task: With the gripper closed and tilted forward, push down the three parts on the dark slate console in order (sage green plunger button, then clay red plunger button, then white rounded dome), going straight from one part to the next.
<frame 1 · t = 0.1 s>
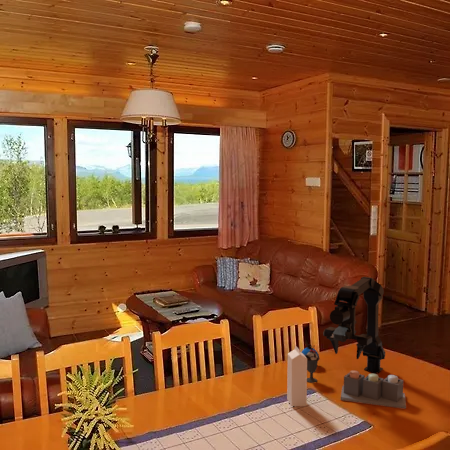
hand: (346, 356, 194), 15 cm above the table, tool pointing down, fingers open, 9 cm apart
milk: (296, 403, 186), on the table
white rounded dome: (392, 381, 187), point 8 cm above the table, slide at 0.0 cm
console: (372, 398, 190), on the table
ornament: (309, 365, 223), on the table
sundae: (311, 380, 206), on the table
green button: (373, 380, 188), point 7 cm above the table, slide at 0.0 cm
clay button: (354, 377, 191), point 7 cm above the table, slide at 0.0 cm
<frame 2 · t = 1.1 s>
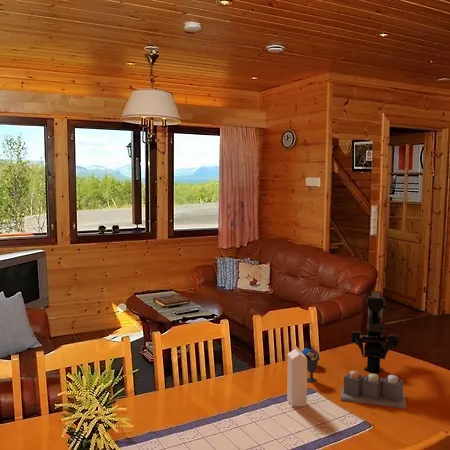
hand: (373, 358, 196), 13 cm above the table, tool tilted 45°, fingers open, 8 cm apart
nothing on the table moved.
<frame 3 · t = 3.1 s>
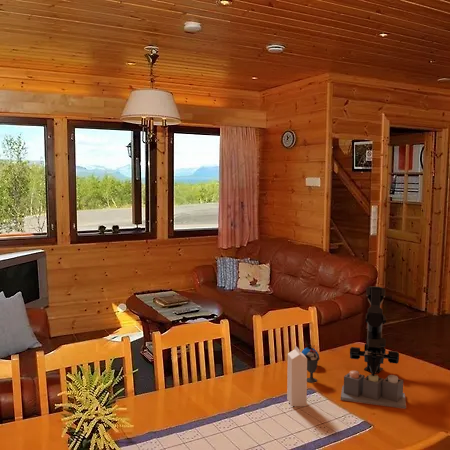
hand: (373, 375, 188), 10 cm above the table, tool tilted 45°, fingers closed, pressing on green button
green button: (373, 381, 188), point 7 cm above the table, slide at 0.3 cm, touching gripper
everything else where it was.
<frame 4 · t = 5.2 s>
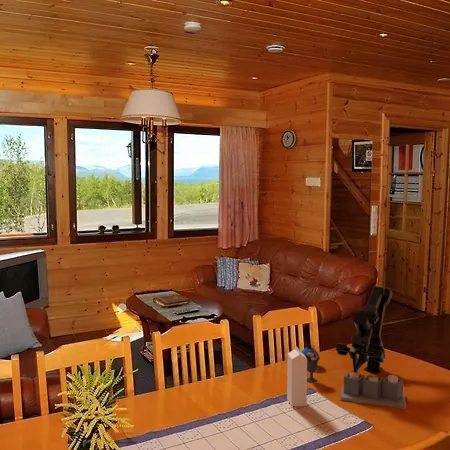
hand: (354, 371, 191), 10 cm above the table, tool tilted 45°, fingers closed, pressing on clay button
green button: (373, 383, 189), point 6 cm above the table, slide at 1.2 cm
clay button: (354, 377, 191), point 7 cm above the table, slide at 0.0 cm, touching gripper
everything else where it was.
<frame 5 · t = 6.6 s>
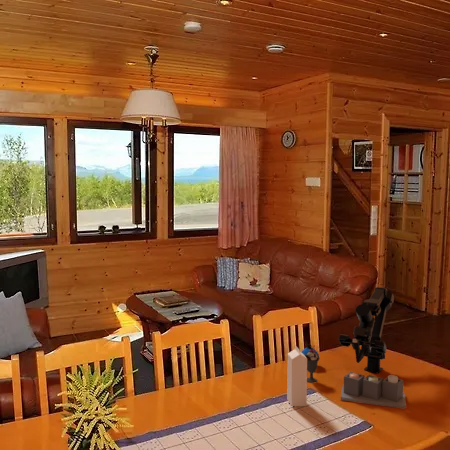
hand: (357, 362, 194), 12 cm above the table, tool tilted 45°, fingers closed
clay button: (354, 380, 192), point 6 cm above the table, slide at 1.2 cm
everything else where it was.
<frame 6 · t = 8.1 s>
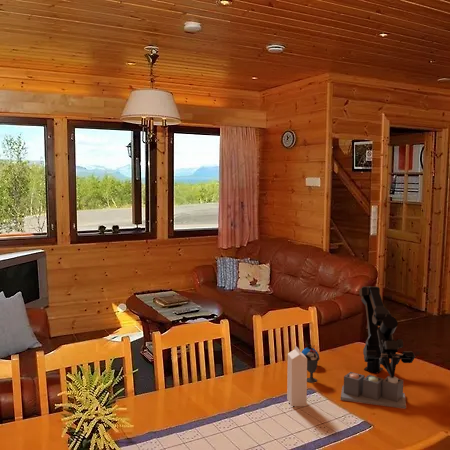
hand: (392, 377, 187), 9 cm above the table, tool tilted 45°, fingers closed, pressing on white rounded dome
white rounded dome: (392, 383, 187), point 7 cm above the table, slide at 0.5 cm, touching gripper
everything else where it was.
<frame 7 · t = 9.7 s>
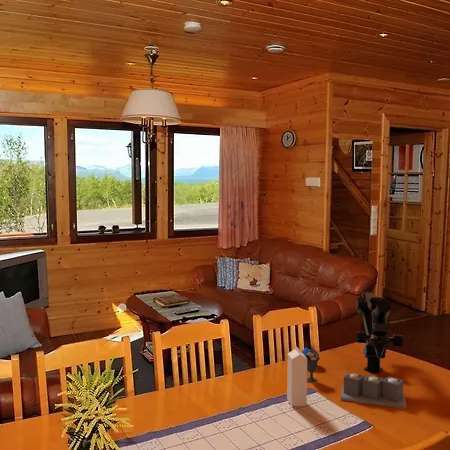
hand: (379, 358, 196), 13 cm above the table, tool tilted 45°, fingers closed
white rounded dome: (392, 384, 187), point 6 cm above the table, slide at 1.2 cm
everything else where it was.
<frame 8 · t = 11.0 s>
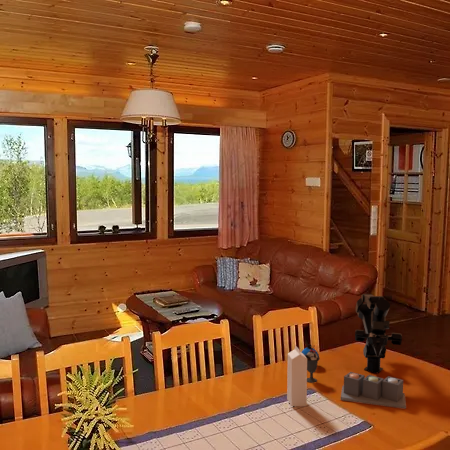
hand: (377, 356, 198), 14 cm above the table, tool tilted 45°, fingers closed
nothing on the table moved.
at the end: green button slide at 1.2 cm; clay button slide at 1.2 cm; white rounded dome slide at 1.2 cm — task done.
